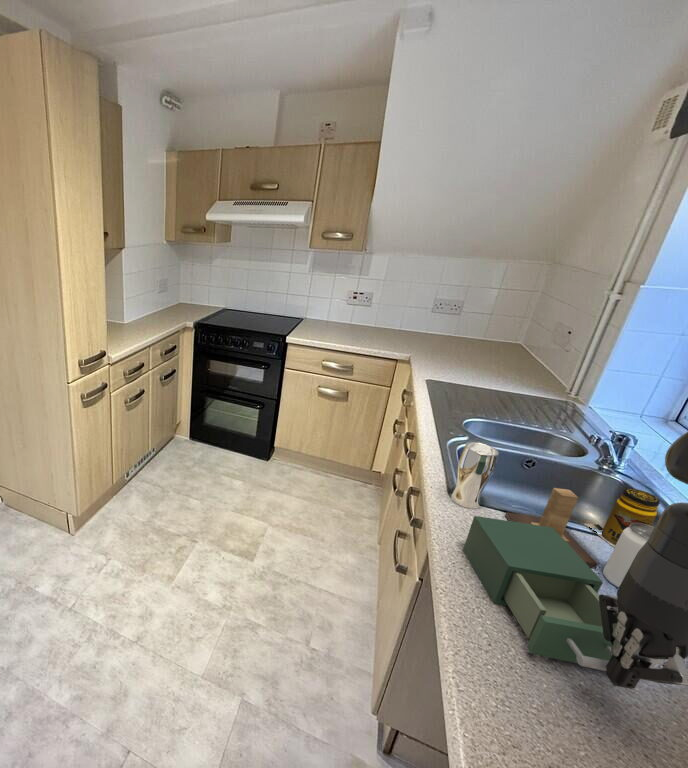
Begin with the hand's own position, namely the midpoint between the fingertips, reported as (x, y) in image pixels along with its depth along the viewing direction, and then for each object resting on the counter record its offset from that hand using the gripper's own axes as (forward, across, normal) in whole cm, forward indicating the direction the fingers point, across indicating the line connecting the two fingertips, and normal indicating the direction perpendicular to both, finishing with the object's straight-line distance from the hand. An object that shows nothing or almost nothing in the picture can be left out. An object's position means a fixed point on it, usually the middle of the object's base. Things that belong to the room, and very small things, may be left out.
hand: (616, 681), depth 57 cm
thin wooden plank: (+5, +38, -13) cm, 40 cm away
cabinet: (+5, +23, 0) cm, 23 cm away
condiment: (+5, +43, -29) cm, 52 cm away
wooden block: (+4, +38, -12) cm, 40 cm away
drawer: (+4, +10, 0) cm, 11 cm away
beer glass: (+5, +49, -1) cm, 49 cm away
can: (+5, +28, -21) cm, 35 cm away
